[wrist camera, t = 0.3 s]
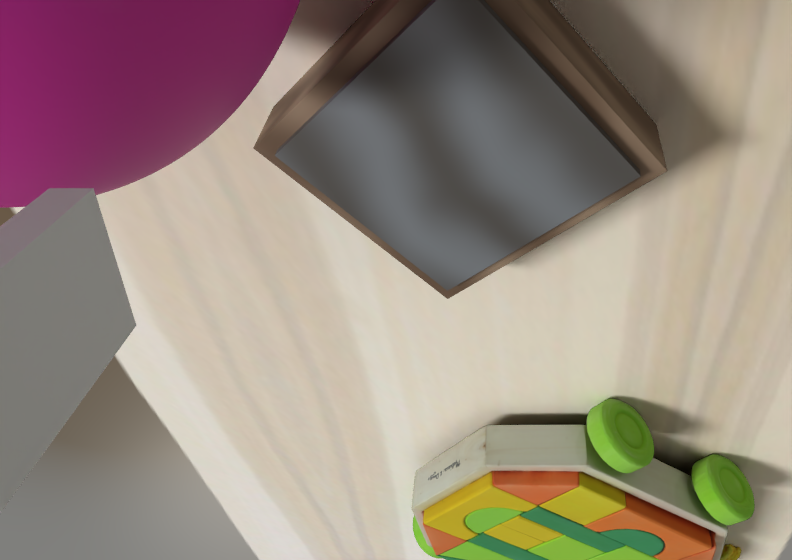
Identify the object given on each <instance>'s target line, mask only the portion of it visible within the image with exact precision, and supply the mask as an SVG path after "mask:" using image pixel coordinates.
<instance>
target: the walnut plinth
mask: <svg viewBox="0 0 792 560" xmlns="http://www.w3.org/2000/svg"><path fill="white" fill-rule="evenodd" d="M254 149H255V150H256V151H258V152H259V153H260V154H262V155H263V156H264V157H265V158H267V159H268V160H269V161H271V162H272V163H273V164H274V165H276V166H277V167H278V168H280V169H281V170H282V171H283V172H285V173H286V174H287V175H289V176H290V177H291V178H293V179H294V180H295V181H296V182H298V183H299V184H300V185H302V186H303V187H304V188H305V189H307V190H308V191H309V192H311V193H312V194H313V195H314V196H316V197H317V198H318V199H320V200H321V201H322V202H323V203H325V204H326V205H327V206H329V207H330V208H331V209H332V210H334V211H335V212H336V213H338V214H339V215H340V216H341V217H343V218H344V219H345V220H347V221H348V222H349V223H351V224H352V225H353V226H354V227H356V228H357V229H358V230H360V231H361V232H362V233H363V234H365V235H366V236H367V237H369V238H370V239H371V240H372V241H374V242H375V243H376V244H378V245H379V246H380V247H381V248H383V249H384V250H385V251H387V252H388V253H389V254H390V255H392V256H393V257H394V258H396V259H397V260H398V261H399V262H401V263H402V264H403V265H405V266H406V267H407V268H409V269H410V270H411V271H412V272H414V273H415V274H416V275H418V276H419V277H420V278H421V279H423V280H424V281H425V282H427V283H428V284H429V285H430V286H432V287H433V288H434V289H436V290H437V291H438V292H439V293H441V294H442V295H443V296H445V297H446V298H447V299H448V298H450V297H452V296H454V295H455V294H457V293H459V292H460V291H462V290H464V289H466V288H467V287H469V286H471V285H472V284H474V283H476V282H478V281H479V280H481V279H483V278H484V277H486V276H488V275H490V274H491V273H493V272H495V271H496V270H498V269H500V268H502V267H503V266H505V265H507V264H508V263H510V262H512V261H514V260H515V259H517V258H519V257H520V256H522V255H524V254H526V253H527V252H529V251H531V250H532V249H534V248H536V247H538V246H539V245H541V244H543V243H544V242H546V241H548V240H550V239H551V238H553V237H555V236H556V235H558V234H560V233H562V232H563V231H565V230H567V229H568V228H570V227H572V226H574V225H575V224H577V223H579V222H580V221H582V220H584V219H586V218H587V217H589V216H591V215H593V214H594V213H596V212H598V211H599V210H601V209H603V208H605V207H606V206H608V205H610V204H611V203H613V202H615V201H617V200H618V199H620V198H622V197H623V196H625V195H627V194H629V193H630V192H632V191H634V190H635V189H637V188H639V187H641V186H642V185H644V184H646V183H647V182H649V181H651V180H653V179H654V178H656V177H658V176H659V175H661V174H663V173H665V172H666V171H667V168H666V164H665V159H664V155H663V151H662V147H661V143H660V139H659V134H658V130H657V126H656V124H655V123H654V122H653V120H652V119H651V118H650V117H649V116H648V115H647V114H646V112H645V111H644V110H643V109H642V108H641V107H640V105H639V104H638V103H637V102H636V101H635V100H634V98H633V97H632V96H631V95H630V94H629V93H628V92H627V90H626V89H625V88H624V87H623V86H622V85H621V83H620V82H619V81H618V80H617V79H616V78H615V76H614V75H613V74H612V73H611V72H610V71H609V69H608V68H607V67H606V66H605V65H604V64H603V63H602V61H601V60H600V59H599V58H598V57H597V56H596V54H595V53H594V52H593V51H592V50H591V49H590V47H589V46H588V45H587V44H586V43H585V42H584V41H583V39H582V38H581V37H580V36H579V35H578V34H577V32H576V31H575V30H574V29H573V28H572V27H571V25H570V24H569V23H568V22H567V21H566V20H565V18H564V17H563V16H562V15H561V14H560V13H559V12H558V10H557V9H556V8H555V7H554V6H553V5H552V3H551V2H550V1H549V0H376V1H375V2H374V3H373V4H372V5H371V6H370V7H369V8H368V9H367V10H366V11H365V12H364V13H363V15H362V16H361V17H360V18H359V19H358V20H357V21H356V22H355V23H354V24H353V25H352V26H351V27H350V28H349V29H348V30H347V31H346V32H345V33H344V34H343V35H342V36H341V37H340V38H339V39H338V40H337V41H336V43H335V44H334V45H333V46H332V47H331V48H330V49H329V50H328V51H327V52H326V53H325V54H324V55H323V56H322V57H321V58H320V59H319V60H318V61H317V62H316V63H315V64H314V65H313V66H312V67H311V68H310V70H309V71H308V72H307V73H306V74H305V75H304V76H303V77H302V78H301V79H300V80H299V81H298V82H297V83H296V84H295V85H294V86H293V87H292V88H291V89H290V90H289V91H288V92H287V93H286V94H285V95H284V97H283V98H282V99H281V100H280V101H279V102H278V103H277V104H276V105H275V106H274V107H273V109H272V111H271V113H270V115H269V117H268V119H267V121H266V123H265V125H264V127H263V130H262V132H261V134H260V136H259V138H258V140H257V142H256V144H255V146H254Z"/></svg>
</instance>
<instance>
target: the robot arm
mask: <svg viewBox="0 0 792 560" xmlns="http://www.w3.org/2000/svg"><path fill="white" fill-rule="evenodd" d="M135 326H136V323H135V320H134V317H133V313H132V310H131V307H130V304H129V301H128V297H127V294H126V291H125V288H124V284H123V281H122V278H121V275H120V272H119V268H118V265H117V262H116V259H115V256H114V252H113V249H112V246H111V243H110V240H109V236H108V233H107V230H106V227H105V224H104V220H103V217H102V214H101V211H100V208H99V204H98V201H97V198H96V195H95V192H94V188H49V189H48V190H46V191H45V192H44V193H43V194H41V195H40V196H39V197H37V198H36V199H35V200H34V201H32V202H31V203H30V204H28V205H27V206H26V207H25V208H23V209H22V210H21V211H20V212H18V213H17V214H16V215H14V216H13V217H12V218H11V219H9V220H8V221H7V222H5V223H4V224H3V225H2V226H0V513H1V512H2V510H3V509H4V507H5V506H6V505H7V503H8V502H9V500H10V499H11V498H12V496H13V495H14V493H15V492H16V491H17V489H18V488H19V487H20V485H21V484H22V483H23V481H24V480H25V478H26V477H27V476H28V474H29V473H30V471H31V470H32V469H33V467H34V466H35V464H36V463H37V462H38V460H39V459H40V458H41V456H42V455H43V453H44V452H45V451H46V449H47V448H48V447H49V445H50V444H51V442H52V441H53V440H54V438H55V437H56V436H57V434H58V433H59V431H60V430H61V429H62V427H63V426H64V424H65V423H66V421H67V420H68V419H69V418H70V416H71V415H72V413H73V412H74V411H75V409H76V408H77V406H78V405H79V404H80V402H81V401H82V400H83V398H84V397H85V395H86V394H87V393H88V391H89V390H90V389H91V387H92V386H93V384H94V383H95V382H96V380H97V378H98V377H99V376H100V375H101V373H102V372H103V371H104V369H105V368H106V366H107V365H108V364H109V362H110V361H111V359H112V358H113V357H114V355H115V354H116V353H117V351H118V350H119V348H120V347H121V346H122V344H123V343H124V341H125V340H126V339H127V337H128V336H129V335H130V333H131V332H132V330H133V329H134V328H135Z"/></svg>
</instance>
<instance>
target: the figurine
mask: <svg viewBox="0 0 792 560" xmlns="http://www.w3.org/2000/svg"><path fill="white" fill-rule="evenodd" d="M299 2H300V0H0V207H25V206H27V205H28V204H30V203H31V202H32V201H34V200H35V199H36V198H37V197H39V196H40V195H41V194H43V193H44V192H45V191H46V190H48V189H49V188H94V192H95V195H98V194H101V193H104V192H108V191H111V190H114V189H117V188H120V187H122V186H125V185H128V184H130V183H133V182H135V181H137V180H140V179H142V178H144V177H146V176H148V175H150V174H152V173H154V172H156V171H158V170H160V169H162V168H164V167H166V166H167V165H169V164H171V163H172V162H174V161H176V160H177V159H179V158H180V157H182V156H183V155H185V154H186V153H188V152H189V151H191V150H192V149H193V148H195V147H196V146H197V145H199V144H200V143H201V142H203V141H204V140H205V139H206V138H207V137H209V136H210V135H211V134H212V133H213V132H214V131H215V130H217V129H218V128H219V127H220V126H221V125H222V124H223V123H224V122H225V121H226V120H227V119H228V118H229V117H230V116H231V115H232V114H233V113H234V112H235V110H236V109H237V108H238V107H239V106H240V105H241V104H242V102H243V101H244V100H245V99H246V98H247V96H248V95H249V94H250V92H251V91H252V90H253V88H254V87H255V86H256V84H257V83H258V81H259V80H260V79H261V77H262V76H263V74H264V73H265V71H266V69H267V68H268V66H269V65H270V63H271V61H272V59H273V58H274V56H275V54H276V52H277V51H278V49H279V47H280V45H281V43H282V41H283V39H284V37H285V35H286V33H287V31H288V29H289V26H290V24H291V22H292V19H293V17H294V15H295V12H296V10H297V7H298V4H299Z"/></svg>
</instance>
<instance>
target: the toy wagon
mask: <svg viewBox="0 0 792 560" xmlns="http://www.w3.org/2000/svg"><path fill="white" fill-rule="evenodd" d="M653 455H654V444H653V439H652V436H651V433H650V431H649V428H648V426H647V425H646V423H645V422H644V420H643V418H642V417H641V416H640V415H639V413H638V412H637V411H636V410H635V409H634V408H632V407H631V406H630V405H628V404H626V403H624V402H622V401H620V400H617V399H607V400H605V401H604V402H602V403H600V404H598V405H597V406H595V407H593V408H592V409H591V410H590V411H589V414H588V416H587V426H586V425H487V426H484V427H483V428H481V429H480V430H478V431H476V432H475V433H473V434H472V435H470V436H468V437H467V438H465V439H464V440H462V441H460V442H459V443H457V444H456V445H454V446H453V447H451V448H450V449H448V450H447V451H445V452H444V453H442V454H441V455H439V456H438V457H436V458H435V459H433V460H431V461H430V462H428V463H427V464H426V465H424V466H423V467H421V468H420V469H418V470H417V471H416V473H415V479H414V489H413V499H412V511H413V513H414V518H413V531H414V535H415V538H416V540H417V542H418V544H419V546H420V547H421V548H422V549H423V551H424V552H426V553H427V554H428V555H430V556H432V557H435V558H444V559H446V560H737V559H738V558H739V556H740V553H741V549H740V548H739V547H736V548H735V546H732V545H731V544H728V545H724V543H725V539H726V536H727V532H728V528H727V525H733V524H736V523H739V522H742V521H745V520H747V519H749V518H750V517H751V516H752V515H753V512H754V497H753V493H752V490H751V487H750V485H749V483H748V481H747V479H746V477H745V476H744V474H743V473H742V472H741V470H740V469H739V468H738V467H737V466H736V465H735V464H734V463H733V462H732V461H730V460H729V459H727V458H725V457H723V456H720V455H716V454H712V455H709V456H707V457H705V458H703V459H701V460H699V461H697V462H695V463H694V465H693V467H692V477H691V476H689V475H687V474H685V473H683V472H681V471H679V470H677V469H675V468H673V467H671V466H669V465H667V464H665V463H663V462H661V461H659V460H657V459H654V458H653Z"/></svg>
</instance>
